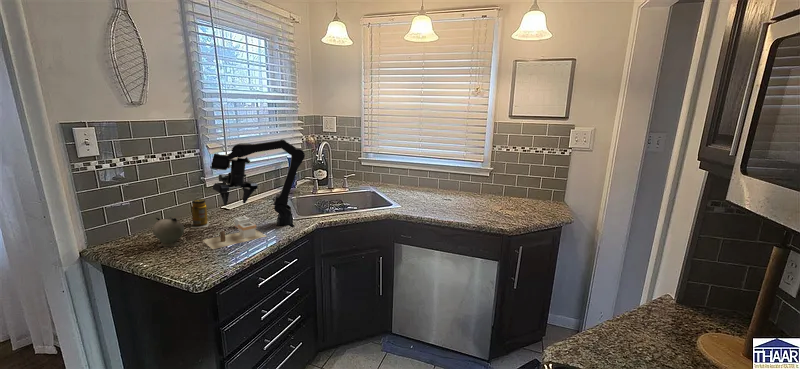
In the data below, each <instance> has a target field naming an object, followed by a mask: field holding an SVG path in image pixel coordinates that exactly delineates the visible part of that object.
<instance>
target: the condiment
mask: <svg viewBox="0 0 800 369" xmlns="http://www.w3.org/2000/svg"><path fill="white" fill-rule="evenodd" d="M191 203H192V205H191V215H192V222H191V223H190V228H191V229H196V228H197V229H199V228H206V227H207V228H208V227H209V226H210V224H209V223H210V221H209V220H208V211H207V205H206V199H203V198H197V199H193V200H192V202H191Z"/></svg>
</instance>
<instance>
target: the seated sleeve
mask: <svg viewBox="0 0 800 369" xmlns="http://www.w3.org/2000/svg"><path fill="white" fill-rule="evenodd" d="M238 228H239V229H238ZM238 228H237V229H238V231H239V235H240V236H241V237H243V238H248V237H253V236H256V231H255V229H257V225H256V224H255V223H253V222H251V221H250V222H248V223H243V224H238Z"/></svg>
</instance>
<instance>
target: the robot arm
mask: <svg viewBox="0 0 800 369" xmlns="http://www.w3.org/2000/svg"><path fill="white" fill-rule="evenodd" d="M280 149H281V150H283V151H284V152H286V153H287V154H288V155H290V164H289V165H290V166H289V168H288V171H287V173H286V177H285V178H284V179H285V180H284V182H283V185H282V188H281V192H280V193H279V194H277V193H276V195H275V199H274V200H273V204H272V205H273V206H274V207H273V209H274V211H275V212H276V213H277V217H276V225H277V226H279V227H287V226H288V227H290V228H293V227H295V226H296V225H295V224H294V217H293V216H294V214H293V212H292V207H291V206H290V205H289V204H288V202H289V195H290V193H291V189H292V187H293V183H294V181H295V178H296V176H297V172H298V169H299V167H300V166H301V165H302V162H303V161H304V159H305V151H304V150H303V149H302V148H301V147H295V146H294V145H293V144H291V143H289V142H288V141H286V139H279V140H273V141H266V142H258V143H241V142H240V143H237V144H235V145H233V146H232V148H231V152H230V153H228V154H227V155H226V154H220V153H214V154H213V156H212V157H213V158H212V161H211V169H212V170H222V171H227V170H228V169H230V172H228V173H227V175H225V174H224V173H223V174H222V173H221V174H218V182H215V183H214V184H213V186H212V190H214V191H215V192H218V193H219V195H220V196H221V199H222V202H223V205H224V206H227V205H228V200H229V197H230V196H229V195H230V191H229V190H231V189H232V190H233V189H242V190H243V195H242V203H243V204H246V203H247V202H248V199H249V198H250V196H252V194H253V192H255V191H256V190H258V188H259V185H258V182H255V181H252V180H248V181H245V178H246V177H247V174H245V172H246V164H250V163H251V160H250V159H249V157H248V156H250V155H252V154H255V153H261V152H266V151H274V150H280ZM243 157H244V158H243Z"/></svg>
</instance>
